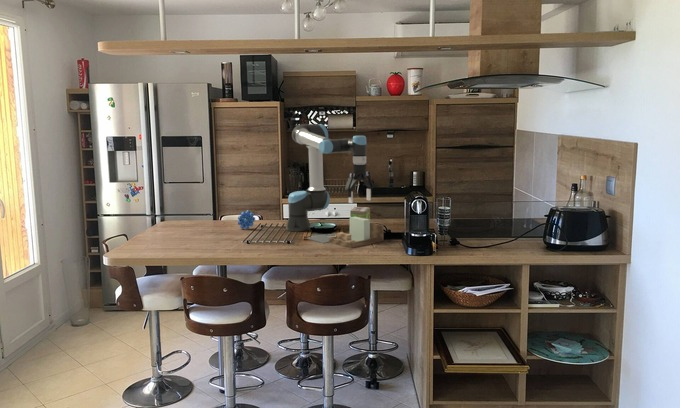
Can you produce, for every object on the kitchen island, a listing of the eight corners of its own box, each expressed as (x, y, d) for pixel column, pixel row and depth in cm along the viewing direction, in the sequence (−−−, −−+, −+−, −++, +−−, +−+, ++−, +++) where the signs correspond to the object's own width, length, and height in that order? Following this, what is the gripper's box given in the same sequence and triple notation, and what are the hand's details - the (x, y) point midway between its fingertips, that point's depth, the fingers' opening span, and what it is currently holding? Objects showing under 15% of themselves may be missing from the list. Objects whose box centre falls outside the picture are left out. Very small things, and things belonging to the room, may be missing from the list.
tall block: (349, 239, 321) (349, 217, 319) (355, 238, 324) (355, 216, 321) (363, 243, 312) (363, 220, 310) (369, 242, 315) (369, 219, 312)
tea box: (366, 235, 331) (366, 211, 329) (349, 235, 333) (349, 210, 331) (370, 230, 346) (370, 206, 343) (354, 229, 348) (354, 206, 345)
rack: (329, 242, 315) (328, 226, 313) (361, 235, 331) (361, 220, 329) (350, 248, 301) (350, 231, 300) (383, 240, 317) (383, 225, 316)
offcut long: (336, 243, 314) (336, 238, 314) (340, 242, 316) (340, 237, 316) (350, 247, 305) (350, 241, 305) (355, 246, 307) (355, 240, 307)
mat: (306, 238, 324) (306, 238, 324) (322, 235, 332) (322, 234, 332) (323, 243, 312) (323, 242, 312) (339, 240, 320) (339, 239, 320)
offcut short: (337, 238, 313) (337, 233, 312) (341, 237, 315) (341, 232, 315) (347, 240, 307) (347, 235, 307) (351, 239, 309) (351, 234, 309)
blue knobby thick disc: (257, 228, 355) (257, 209, 353) (254, 230, 348) (253, 211, 346) (240, 227, 357) (239, 208, 355) (236, 229, 351) (235, 210, 349)
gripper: (347, 165, 300) (347, 205, 303) (380, 162, 316) (380, 199, 319) (338, 164, 305) (338, 203, 309) (371, 161, 321) (371, 198, 325)
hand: (359, 201), depth 314 cm, fingers open, 13 cm apart
